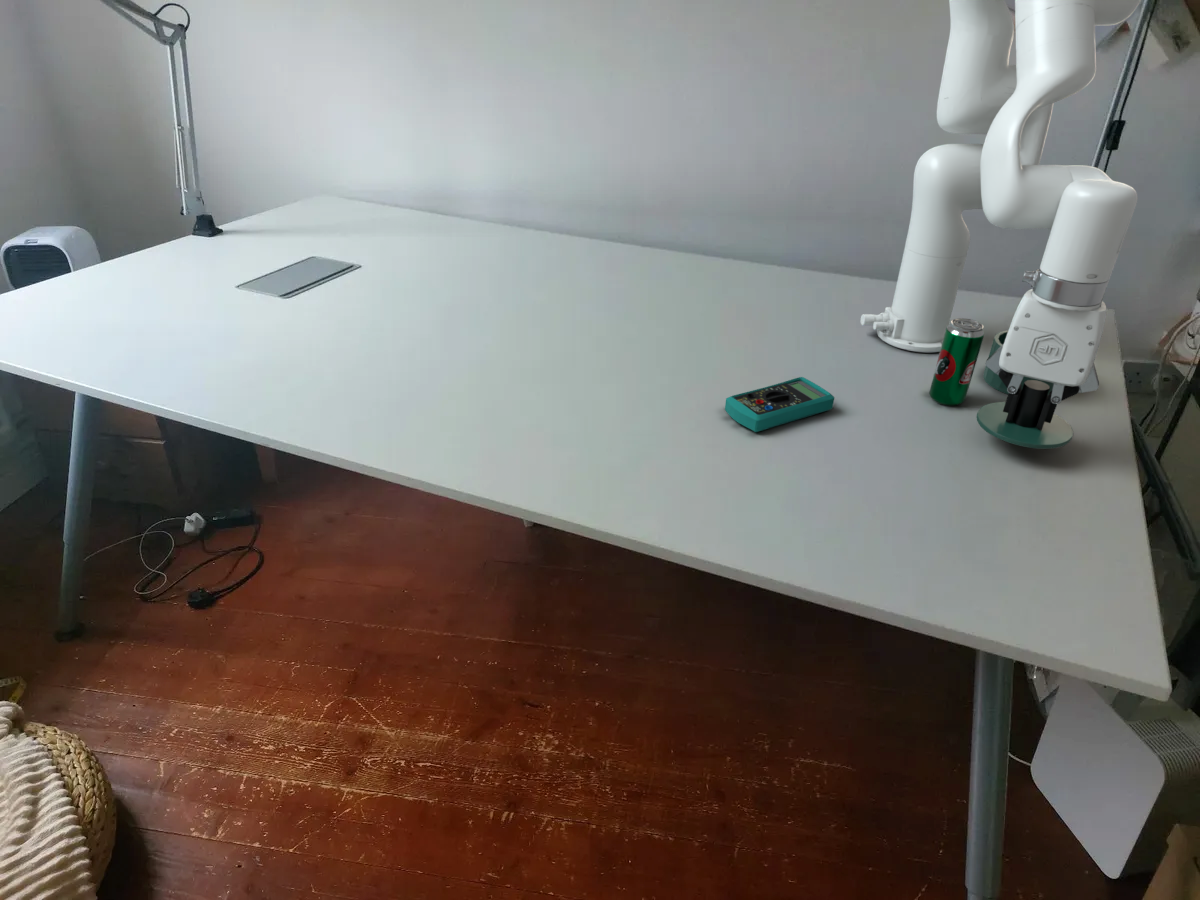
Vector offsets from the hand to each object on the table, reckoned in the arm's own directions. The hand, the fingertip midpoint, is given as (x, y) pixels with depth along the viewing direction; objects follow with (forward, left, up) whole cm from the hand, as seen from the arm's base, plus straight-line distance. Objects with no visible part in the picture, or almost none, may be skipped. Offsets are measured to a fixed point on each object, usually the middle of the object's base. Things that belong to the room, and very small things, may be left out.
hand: (1025, 420), depth 106 cm
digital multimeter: (-30, +10, -4) cm, 32 cm away
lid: (0, 0, -1) cm, 1 cm away
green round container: (+10, +18, -4) cm, 21 cm away
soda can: (-4, +13, -4) cm, 14 cm away
